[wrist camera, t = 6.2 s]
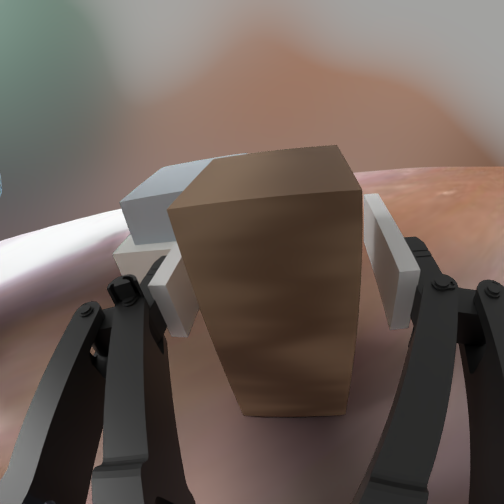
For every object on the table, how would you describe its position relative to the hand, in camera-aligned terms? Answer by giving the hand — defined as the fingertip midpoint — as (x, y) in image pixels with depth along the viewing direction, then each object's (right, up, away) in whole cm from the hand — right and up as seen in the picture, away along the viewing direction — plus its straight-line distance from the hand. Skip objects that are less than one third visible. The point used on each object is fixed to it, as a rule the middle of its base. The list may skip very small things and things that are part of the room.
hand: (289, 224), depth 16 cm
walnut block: (0, -8, -1) cm, 8 cm away
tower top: (-7, +2, +11) cm, 13 cm away
